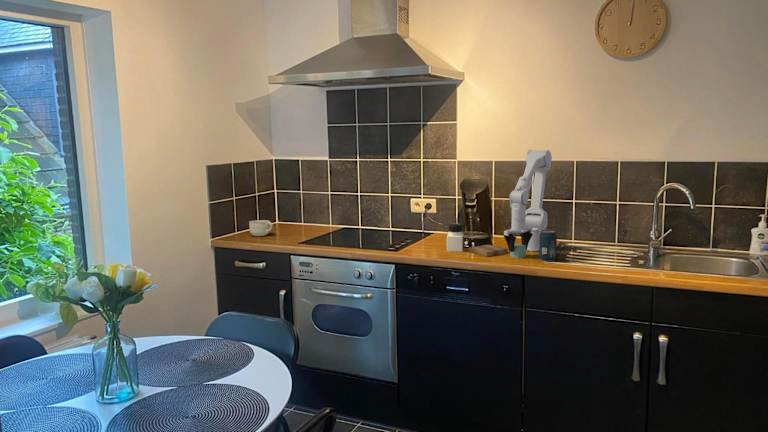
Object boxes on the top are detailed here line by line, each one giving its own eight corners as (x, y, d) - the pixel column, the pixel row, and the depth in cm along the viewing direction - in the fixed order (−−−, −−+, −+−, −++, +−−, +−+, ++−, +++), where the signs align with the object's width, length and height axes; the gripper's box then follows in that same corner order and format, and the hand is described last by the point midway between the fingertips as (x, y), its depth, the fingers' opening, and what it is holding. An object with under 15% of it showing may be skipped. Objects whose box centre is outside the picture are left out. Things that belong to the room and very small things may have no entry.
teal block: (518, 255, 258) (518, 243, 257) (525, 257, 254) (525, 245, 253) (510, 256, 256) (510, 245, 255) (517, 258, 252) (518, 246, 251)
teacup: (245, 236, 317) (244, 221, 315) (262, 233, 325) (261, 218, 324) (262, 238, 308) (261, 223, 306) (278, 235, 316) (278, 220, 315)
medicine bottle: (462, 252, 266) (462, 225, 264) (446, 251, 267) (446, 225, 266) (464, 248, 273) (464, 222, 271) (448, 248, 274) (448, 222, 272)
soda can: (543, 257, 252) (543, 229, 251) (559, 259, 248) (559, 230, 246) (536, 260, 247) (536, 231, 245) (552, 262, 243) (552, 233, 241)
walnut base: (488, 248, 272) (488, 244, 272) (507, 253, 262) (507, 248, 262) (468, 252, 266) (468, 247, 265) (486, 256, 256) (486, 252, 255)
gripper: (512, 221, 245) (512, 254, 247) (537, 218, 253) (537, 250, 255) (500, 219, 251) (500, 251, 253) (525, 216, 259) (525, 247, 261)
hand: (517, 250), depth 254 cm, fingers open, 7 cm apart
